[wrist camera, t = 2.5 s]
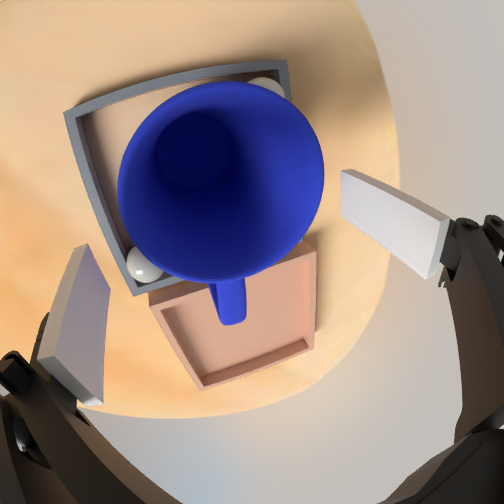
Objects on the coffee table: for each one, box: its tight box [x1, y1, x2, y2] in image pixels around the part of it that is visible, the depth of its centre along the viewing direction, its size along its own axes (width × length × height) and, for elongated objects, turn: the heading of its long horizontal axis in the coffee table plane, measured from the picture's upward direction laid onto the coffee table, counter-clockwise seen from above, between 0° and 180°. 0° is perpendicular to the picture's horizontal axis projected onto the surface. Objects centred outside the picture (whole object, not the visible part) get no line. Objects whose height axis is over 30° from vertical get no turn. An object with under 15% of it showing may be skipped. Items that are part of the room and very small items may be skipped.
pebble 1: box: [127, 246, 164, 283], centre depth 19 cm, size 3×3×3 cm
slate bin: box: [63, 60, 303, 297], centre depth 18 cm, size 15×15×1 cm
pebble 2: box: [247, 77, 285, 98], centre depth 16 cm, size 3×3×3 cm
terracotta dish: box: [148, 240, 316, 391], centre depth 27 cm, size 15×15×2 cm
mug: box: [117, 81, 324, 326], centre depth 15 cm, size 8×12×10 cm
